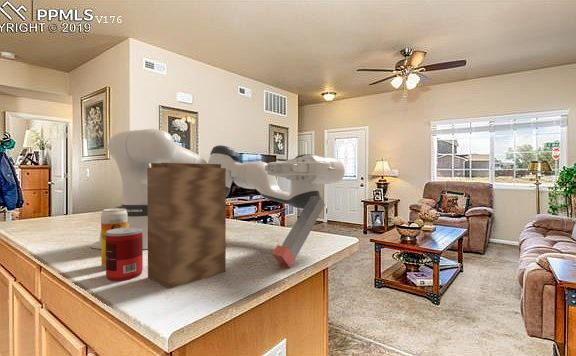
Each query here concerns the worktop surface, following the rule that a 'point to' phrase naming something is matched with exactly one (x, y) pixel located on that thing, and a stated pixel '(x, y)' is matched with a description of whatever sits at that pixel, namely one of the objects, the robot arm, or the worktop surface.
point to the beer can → (111, 226)
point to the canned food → (124, 253)
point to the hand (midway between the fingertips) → (278, 167)
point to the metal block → (298, 232)
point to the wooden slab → (186, 222)
